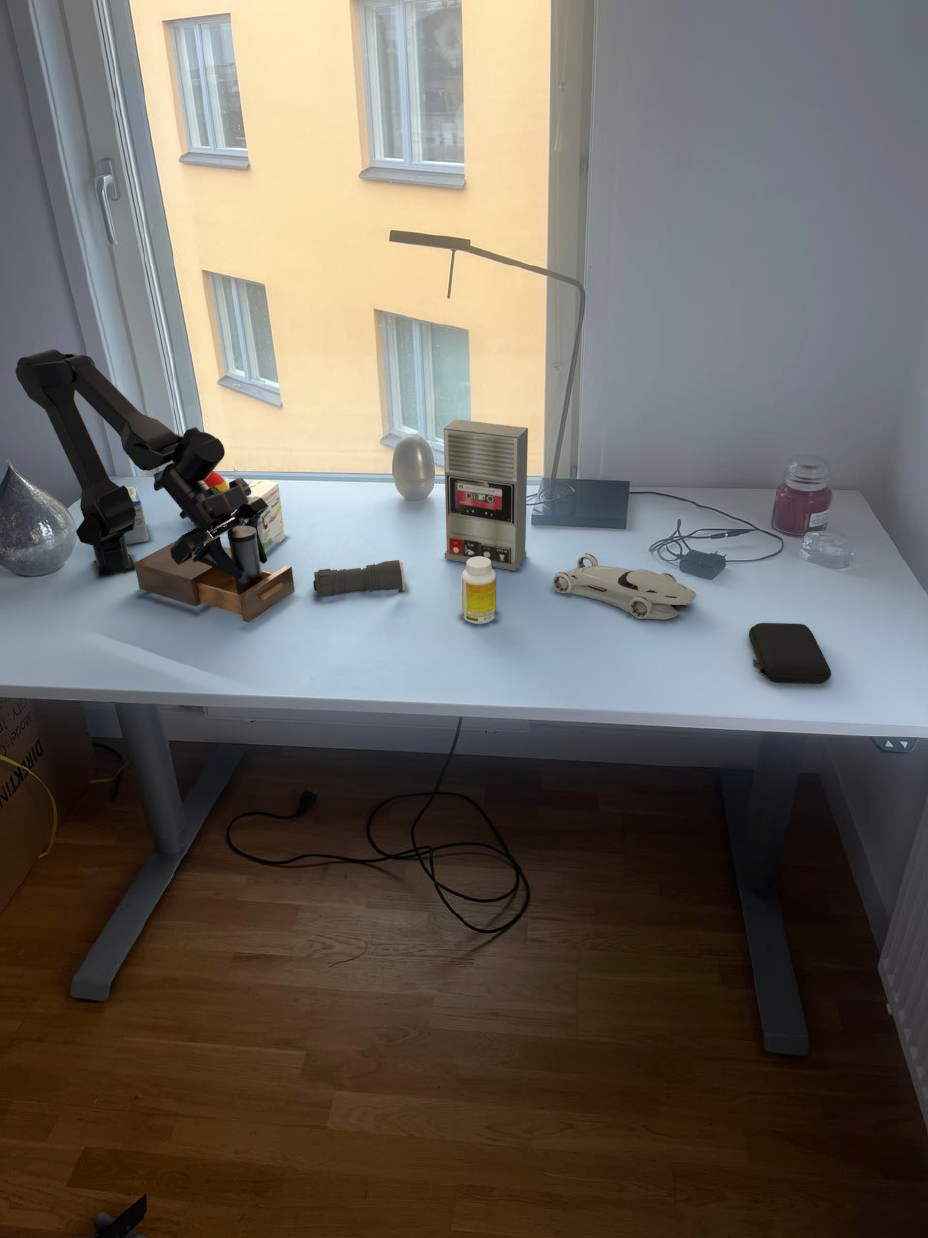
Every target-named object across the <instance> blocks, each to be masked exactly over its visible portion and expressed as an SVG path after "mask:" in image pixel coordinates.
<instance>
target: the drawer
mask: <svg viewBox="0 0 928 1238" xmlns="http://www.w3.org/2000/svg"><path fill="white" fill-rule="evenodd" d="M261 573H262V581H261V582H259V583H258V584H256V585H254V586H253V587H251V588H250V589H248V590H247V591H245V592H243V593H242V594H240V595H239V594H237V589H236V582H235V577H233V576H231V575H229V574H227V573H225V572H223V571H221V570H219V569H216V570H214V571H212V572H211V573H209V574H207V575H205V576H204V577H202V578H200V579H199V580H197V581H196V586H197V591H198V597H199V602H200V604H205V605H207V606H211V607H214V608H218V609H221V610H225V611H228V612H231V613H234V614H238V615H241V617H242V618H241V619H242V621H243V622H245V623H250V622H252V621H253V620H254V619H256V618H258V617H259V616H260V615H262V614H264V613H265V612H266V611H268V610H270V609H271V608H272V607H274V606H275V605H276V604H278V603H279V602H282V601H283V600H284V599H286V598H287V597H289V596H290V595H292V594H293V593H294V592H295V591H296V590H295V582H294V574H293V573H294V572H293V567H292V565H288V564H286V565H285V566H282V568H279V569H278V570H277V571H274V572H271V571H269V570H268V571H267V570H264V569H261Z"/></svg>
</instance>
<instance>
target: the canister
mask: <svg viewBox="0 0 928 1238" xmlns="http://www.w3.org/2000/svg"><path fill="white" fill-rule="evenodd" d="M226 534H227V540H228V543H229V548H230V550H231V557H232V561H233V562H234V563H235V564H236V566H237V567H238V568H239V570H240V571H241V573H242V575H243V576H242V577H241V578H240V579H237V578H235V582H236V589H237V594H239V595H240V594H242V593H243V592H245V591H247V590H248V589H250V588H251V587H253V586H254V585H256V584H258V583H259V582H261V581H262V573H261V570H262V567H261V562H260V558H259V551H258V544H257V537H256V536H257V532H256V529H255V528H254V527H251V526H238V527H234V528H232V529H230V530H229V531H227V532H226Z"/></svg>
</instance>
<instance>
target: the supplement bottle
mask: <svg viewBox="0 0 928 1238" xmlns="http://www.w3.org/2000/svg"><path fill="white" fill-rule="evenodd" d="M465 568H466V569H464V570H463V571H462V573H461V604H462V606H461V607H462V609H461V611H462V617H463V619H464V620H465V621H467V622H468V623H471V624H475V625H483V624H488V623H490V622H492V621H493V620H495V618H496V616H497V573H496V571H495V570H494V569H492V568H493V567H491V560H490V559H488V558H486V557H481V556H477V557H472V558H470V559H468V560H467V562H466V566H465Z"/></svg>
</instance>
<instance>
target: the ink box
mask: <svg viewBox="0 0 928 1238" xmlns="http://www.w3.org/2000/svg"><path fill="white" fill-rule="evenodd" d="M248 485H249V487H250V489H251V494H250V495H249V496H247V498H248V500H249V499H251V498H253V497H255V496H257V497H261V498H262V499H263V500H264V501H265V502H266V504H267V505H268V506H269V507H268V508H267V509H266V511H265V512H264V513H263V514H262V515H261V516H260V517H261V518H260V519H259V520H258V526H257V529H258V533H259V537H260V540H261V543H262V546H263V548H264V550H266V549H267V548H268V547H269V546H270V545H271V544H272V543H273V542H276V543H281V542H283V540H284V539H285V538H286V534H285V527H284V518H283V509H282V502H281V493H280V484H279V482H275V481H269V480H263V479H255V480H253V481H252V482H250V483H249V484H248ZM238 508H239V507H238Z"/></svg>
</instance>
